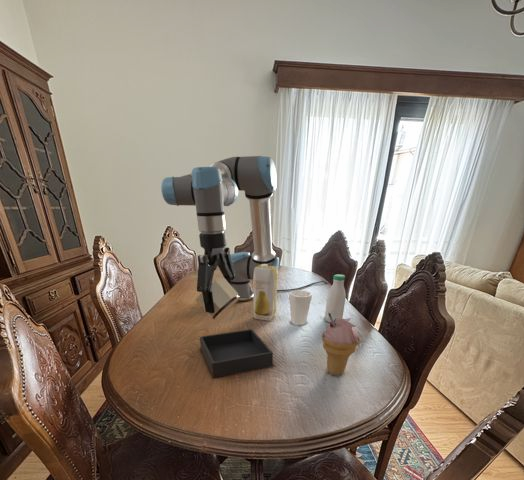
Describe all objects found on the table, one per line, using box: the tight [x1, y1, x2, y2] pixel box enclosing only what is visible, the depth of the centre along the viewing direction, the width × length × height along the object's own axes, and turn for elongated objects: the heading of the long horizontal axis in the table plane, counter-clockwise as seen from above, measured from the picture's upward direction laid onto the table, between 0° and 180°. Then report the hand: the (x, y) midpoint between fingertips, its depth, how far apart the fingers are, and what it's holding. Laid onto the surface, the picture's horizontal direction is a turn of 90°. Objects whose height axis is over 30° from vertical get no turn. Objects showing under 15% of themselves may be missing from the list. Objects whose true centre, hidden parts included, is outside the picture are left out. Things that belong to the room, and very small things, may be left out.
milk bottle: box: [324, 273, 347, 323], centre depth 124 cm, size 8×8×20 cm
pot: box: [195, 276, 240, 321], centre depth 90 cm, size 8×11×11 cm
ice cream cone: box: [321, 313, 361, 377], centre depth 86 cm, size 11×11×20 cm
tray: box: [199, 328, 274, 378], centre depth 97 cm, size 20×20×5 cm
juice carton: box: [252, 264, 278, 322], centre depth 124 cm, size 9×8×24 cm
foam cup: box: [288, 289, 313, 326], centre depth 123 cm, size 10×9×13 cm
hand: (220, 305), depth 91 cm, fingers closed on pot, 11 cm apart
